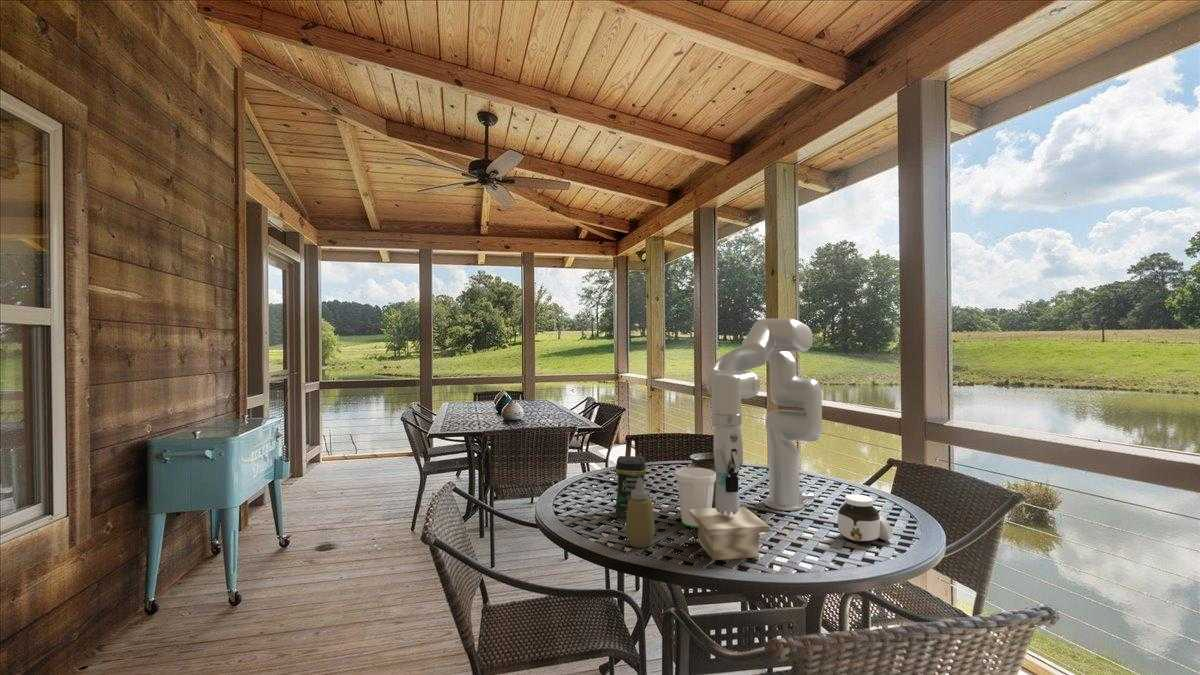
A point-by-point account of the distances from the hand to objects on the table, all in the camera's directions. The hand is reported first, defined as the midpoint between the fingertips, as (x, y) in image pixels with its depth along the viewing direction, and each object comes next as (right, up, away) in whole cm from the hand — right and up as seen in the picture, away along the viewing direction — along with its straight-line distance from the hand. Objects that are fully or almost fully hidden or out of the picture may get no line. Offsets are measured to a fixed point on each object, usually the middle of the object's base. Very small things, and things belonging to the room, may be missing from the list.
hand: (727, 487), depth 144 cm
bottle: (0, -7, 0) cm, 7 cm away
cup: (-5, -17, +20) cm, 27 cm away
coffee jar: (-24, -17, +28) cm, 40 cm away
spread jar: (+40, -16, +6) cm, 43 cm away
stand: (0, -16, 0) cm, 16 cm away
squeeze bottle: (-23, -17, +4) cm, 28 cm away
